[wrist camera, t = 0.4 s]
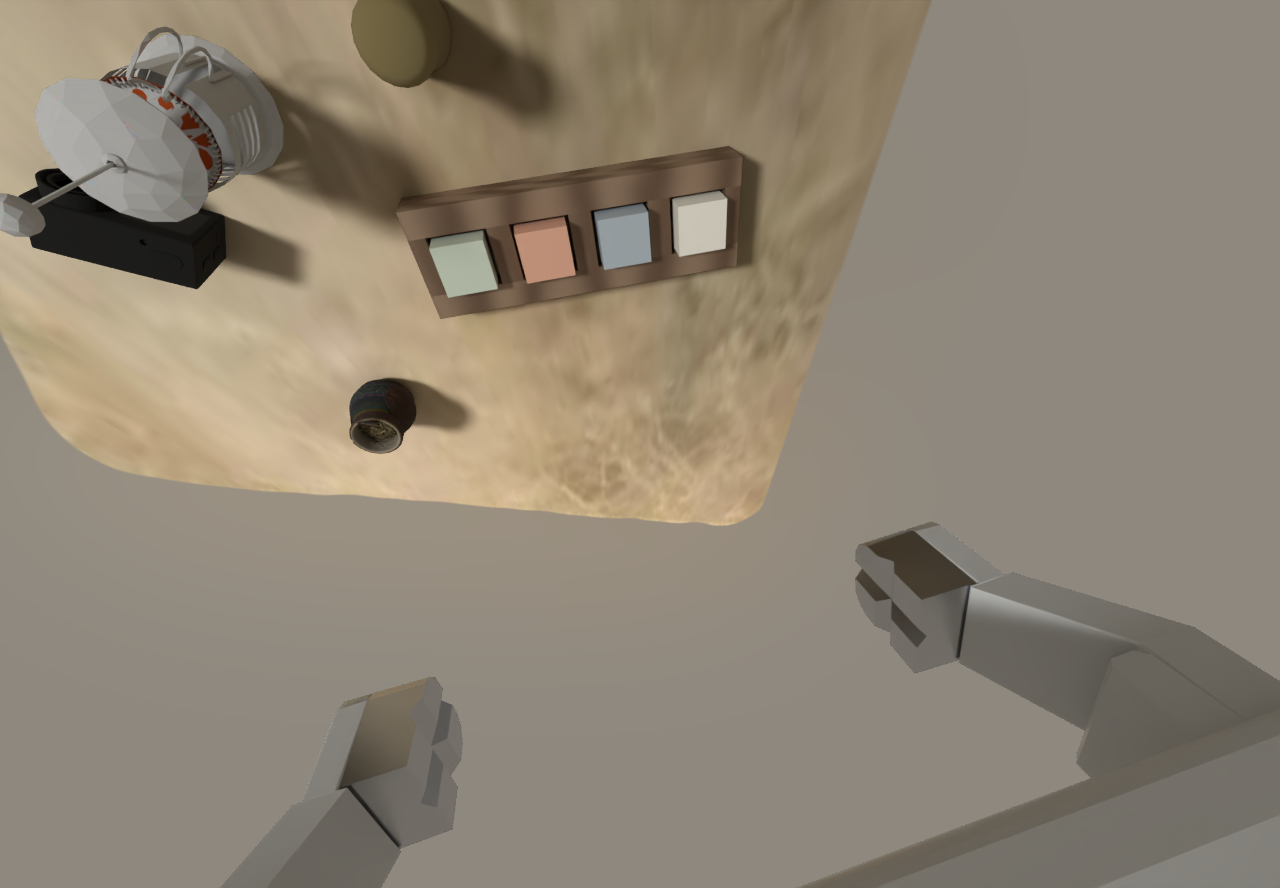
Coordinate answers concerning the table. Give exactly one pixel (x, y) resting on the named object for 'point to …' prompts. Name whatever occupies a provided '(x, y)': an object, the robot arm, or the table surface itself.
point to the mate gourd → (381, 415)
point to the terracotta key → (544, 249)
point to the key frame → (573, 225)
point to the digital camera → (126, 235)
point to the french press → (154, 132)
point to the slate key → (623, 236)
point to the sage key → (464, 263)
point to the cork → (402, 38)
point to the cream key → (699, 223)
